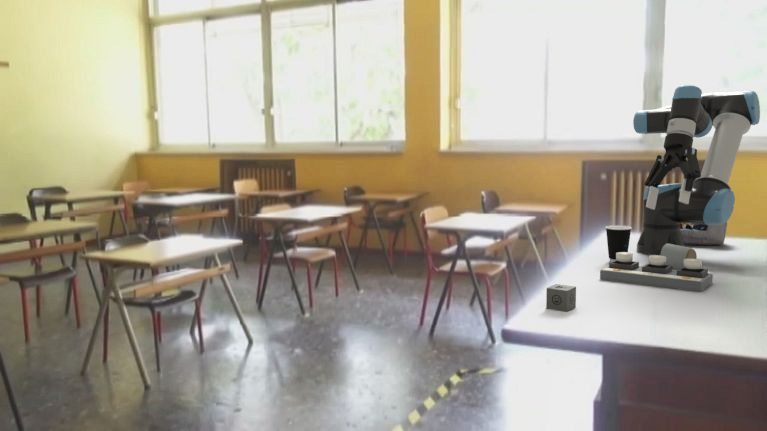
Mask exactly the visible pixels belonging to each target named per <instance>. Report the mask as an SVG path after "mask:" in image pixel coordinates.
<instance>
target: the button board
mask: <svg viewBox="0 0 767 431" xmlns="http://www.w3.org/2000/svg"><path fill="white" fill-rule="evenodd" d="M713 276H714V274H713V273H710V272H709V268H703V267H702V268H701V269H688V268H684V267H682V268H680V269H678V270H673V269H672V265H651V264H649V262H647V263H646V264H644V265H640V262H639V261H631V262H620V261H616V260H615V261H613V262H609V264H608V266H607V267H605V268H604V267H603V269H600V270H599V280H605V281H612V282H621V283H628V284H629V283H630V284H636V285H646V286H651V287H652V286H653V287H661V288H669V289H677V290H678V289H679V290H685V291H686V290H687V291H693V292H694V291H695V292H702V291H704V290H705V289H707V288H708V287H709V286H710V285H712V284H713V281H714V280H713V279H714V278H713Z"/></svg>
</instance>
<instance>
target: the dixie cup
mask: <svg viewBox="0 0 767 431" xmlns="http://www.w3.org/2000/svg"><path fill="white" fill-rule="evenodd" d="M632 229H633V227H631V226H629V225H607V226H605V230H606V243H607V252H608V259H609V263H611V262H613V261H615V260H616V253H618V252H628V253H629V246H630V238H631V232H632Z"/></svg>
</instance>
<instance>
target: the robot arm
mask: <svg viewBox="0 0 767 431" xmlns="http://www.w3.org/2000/svg"><path fill="white" fill-rule="evenodd" d="M671 100H672V101H671V105H667V106H663V107H660V108H659V107H658V108H655V109H644V110H637V111H636V112H635V114H634V115H633V116H634V117H633V122H632V124H633V130H634V131H635V132H636V133H637V134H642V135H643V134H644V135H648V134H649V135H650V134H666V136H665V138H664V142H663V148H664V151H665V153H664V155H661V154H658V155H656V159H655V162H654V164H653V166H652V167H651V170H650V171H649V173H648V176H647V177H646V180H645V182H644V186H646V187H645V189H644V191H643V192H644V193H643V199H642V202H643V203H642V204H643V206H642V208H643V209H642V229H641V233H640V236H639V238H638V240H637V244H636V252H637V253H641V254H645V255H649V256H651V255H660V254H661V250H662V248H663V246H664V245H665V244H673V245H679V246H684V247H686V245H685V244H684V241H683V238H682V235H681V232H680V223H682V224H691V225H694V224H705V225H722V224H725V223H726V222H727V223H728V221H729V220H730V218H731V217H732V214H733V212H734V208H735V207H734V206H735V200H736V198H735V194H734V192H733V190H732V188H731V186H730V185H729V182H730V178H731V175H732V171H733V168H734V165H735V161H736V159H737V156H738V152H739V149H740V146H741V142H742V139H743V136H744V135H745V134H747V133H748V132H749V130H750V129H751V126H755V125H758V124H759V123H760V118H761V108H760V100H759V96H758V93H756V91H754V90H741V91H724V92H722V91H721V92H706V93H703V91H702V89H701V88H700V87H698V86H696V85H693V84H685V85H680V86H678V87H677V88H675V90H674V93H673V96H672V99H671ZM712 128H714V129H715V130H714V132H713V136H712V139H711V142H710V144H709V148H708V151H707V154H706V156H705V157H706V158H705V160H704V164H703V166H702V168H701V169H702V170H701V169H700V164H699V161H698V156H697V155H698V154H697V153H698V149H697V148H694V147H693V143H694V138H699V139H700V138H702V137H705V136H706V135H708V134H709V133H710V132H711V130H712ZM677 168H679V169H680V170H681V173H682V174H683V179H682V181H681V182H677V183H675V182H673V183H665V184H661V183H662V182H663V180H665V177H666V176H667V174H668V173H669V172H671V171H672V170H673V169H677Z"/></svg>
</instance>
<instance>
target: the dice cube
mask: <svg viewBox="0 0 767 431" xmlns="http://www.w3.org/2000/svg"><path fill="white" fill-rule="evenodd" d="M576 307H577V286H573V285H572V286H571V285H565V284H561V283H560V284H557V283H555V284H552V285H550V286H548V287H547V288H546V306H545V309H547V310H552V311H557V312H558V311H559V312H564V313H565V312H566V313H568V312H570V311H572V310H573V309H576Z"/></svg>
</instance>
